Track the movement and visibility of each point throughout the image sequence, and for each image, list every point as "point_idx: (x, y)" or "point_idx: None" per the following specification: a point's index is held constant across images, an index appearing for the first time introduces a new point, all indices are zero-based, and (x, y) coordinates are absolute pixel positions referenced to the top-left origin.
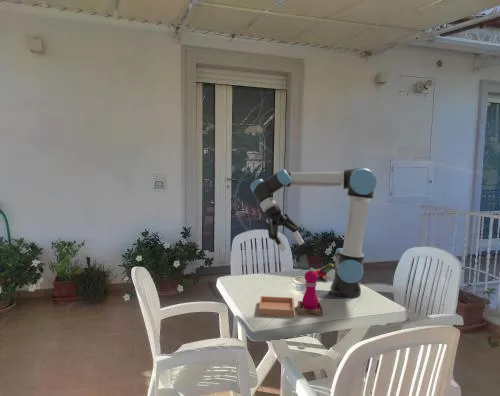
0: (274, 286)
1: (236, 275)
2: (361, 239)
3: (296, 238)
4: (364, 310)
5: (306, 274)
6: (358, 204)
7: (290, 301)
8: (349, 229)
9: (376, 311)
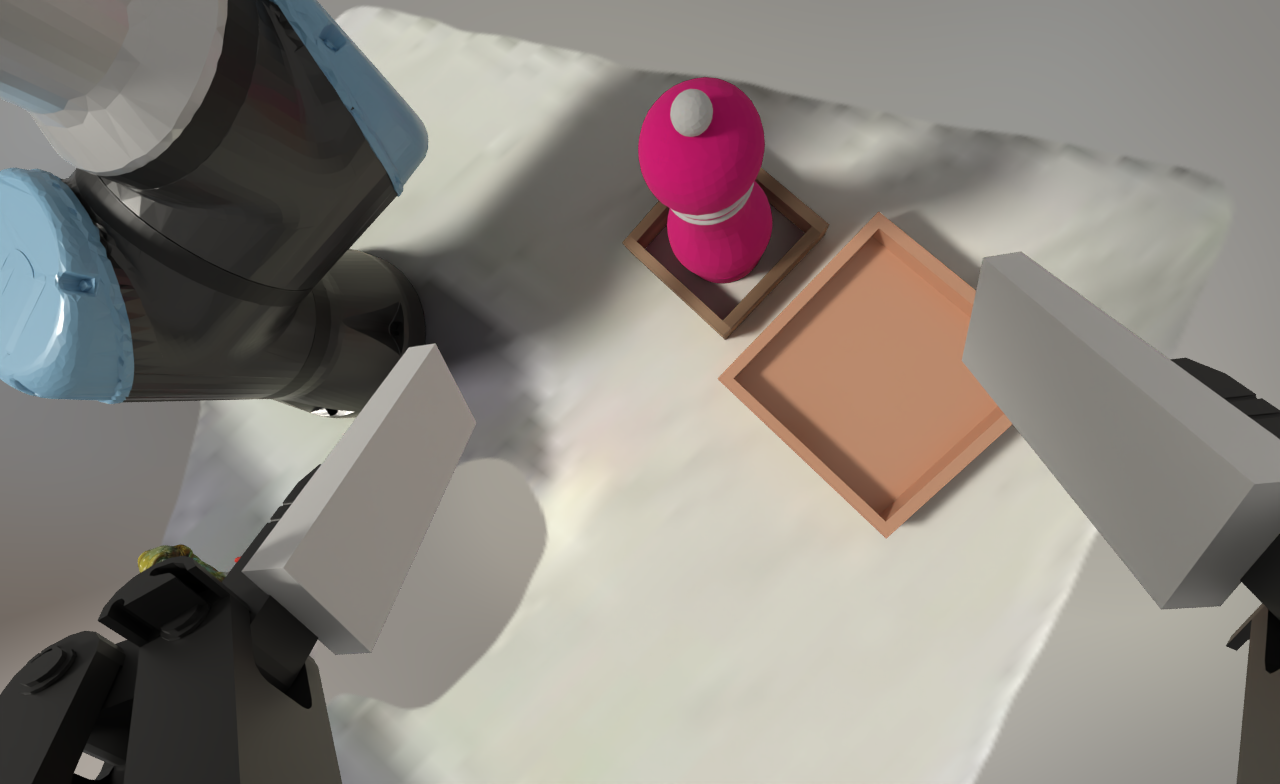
0: (597, 675)
1: None
2: None
3: (422, 512)
4: (480, 98)
5: (753, 142)
6: None
7: (741, 384)
8: None
9: (444, 59)
